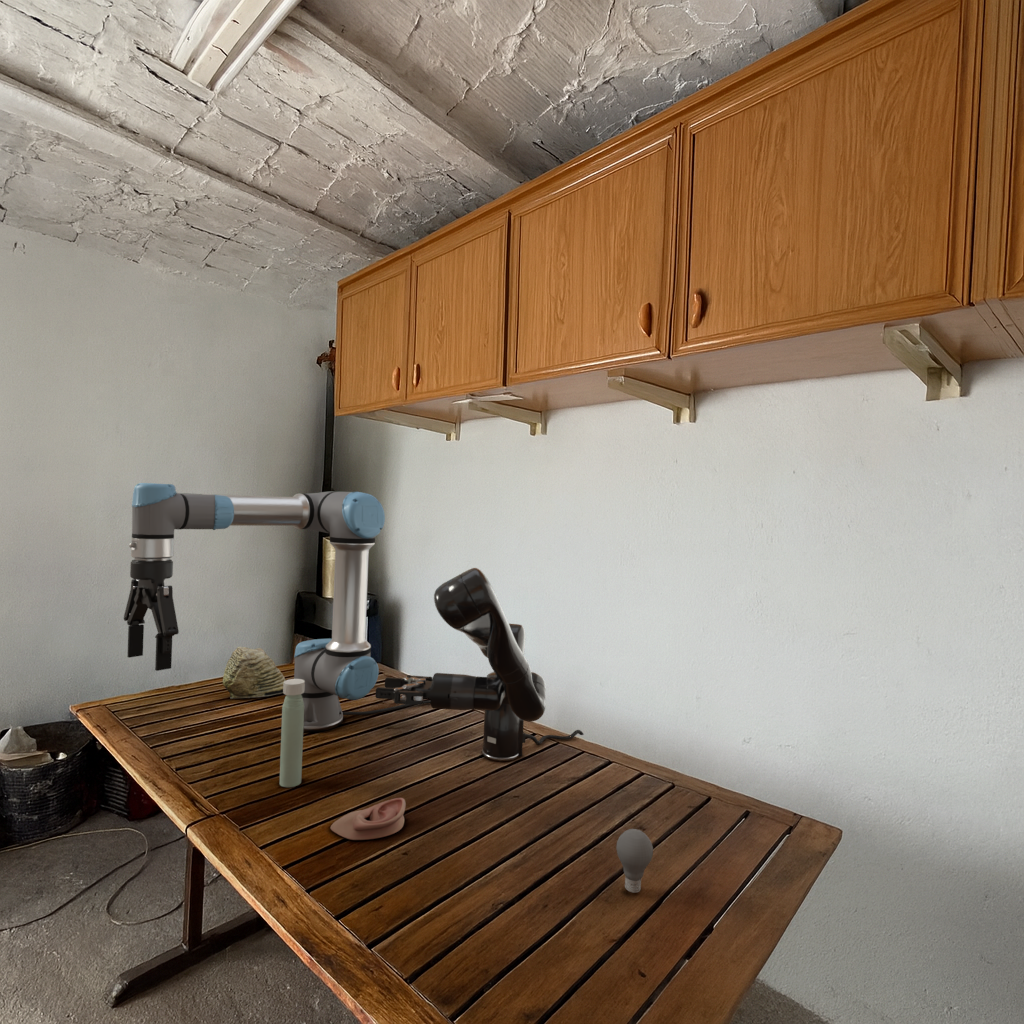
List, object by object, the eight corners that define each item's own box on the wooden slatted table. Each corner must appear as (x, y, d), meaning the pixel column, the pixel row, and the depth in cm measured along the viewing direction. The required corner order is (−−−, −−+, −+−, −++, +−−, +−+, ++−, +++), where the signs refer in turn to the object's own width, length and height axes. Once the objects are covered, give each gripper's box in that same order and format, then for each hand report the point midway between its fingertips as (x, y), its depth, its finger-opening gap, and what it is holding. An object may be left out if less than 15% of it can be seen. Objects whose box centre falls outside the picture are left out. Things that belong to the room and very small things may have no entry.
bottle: (305, 780, 141) (309, 681, 141) (293, 788, 137) (296, 687, 136) (287, 776, 142) (291, 679, 142) (274, 785, 138) (278, 684, 138)
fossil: (218, 695, 195) (220, 647, 195) (278, 685, 208) (279, 640, 207) (228, 703, 189) (230, 653, 188) (289, 692, 201) (290, 645, 201)
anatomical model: (323, 814, 118) (350, 787, 130) (322, 835, 118) (350, 806, 130) (389, 824, 116) (412, 796, 127) (389, 846, 116) (411, 816, 127)
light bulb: (610, 879, 108) (613, 822, 108) (644, 879, 109) (647, 822, 109) (619, 902, 102) (622, 840, 102) (655, 901, 103) (658, 840, 103)
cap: (308, 690, 141) (308, 680, 141) (296, 696, 137) (296, 685, 136) (291, 688, 142) (291, 677, 142) (279, 693, 138) (279, 682, 138)
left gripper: (108, 554, 134) (104, 654, 134) (159, 565, 118) (155, 678, 119) (146, 552, 140) (143, 648, 140) (199, 563, 124) (195, 671, 124)
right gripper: (458, 667, 146) (388, 663, 146) (451, 682, 131) (373, 678, 132) (456, 699, 145) (386, 695, 146) (449, 719, 131) (371, 714, 132)
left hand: (148, 662), depth 129 cm, fingers open, 13 cm apart
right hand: (380, 687), depth 139 cm, fingers open, 8 cm apart
